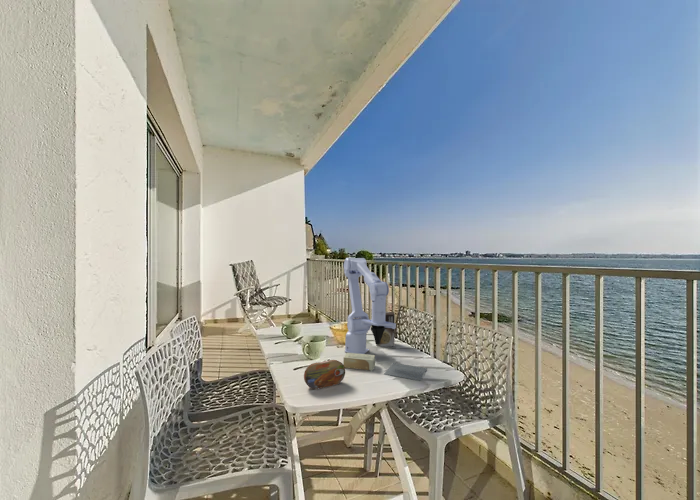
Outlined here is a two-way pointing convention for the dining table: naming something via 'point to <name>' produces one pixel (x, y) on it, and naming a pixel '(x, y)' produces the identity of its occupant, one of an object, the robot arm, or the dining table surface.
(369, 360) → the skincare box
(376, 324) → the robot arm
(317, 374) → the tin
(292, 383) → the dining table surface
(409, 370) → the mat
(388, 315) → the coffee box
